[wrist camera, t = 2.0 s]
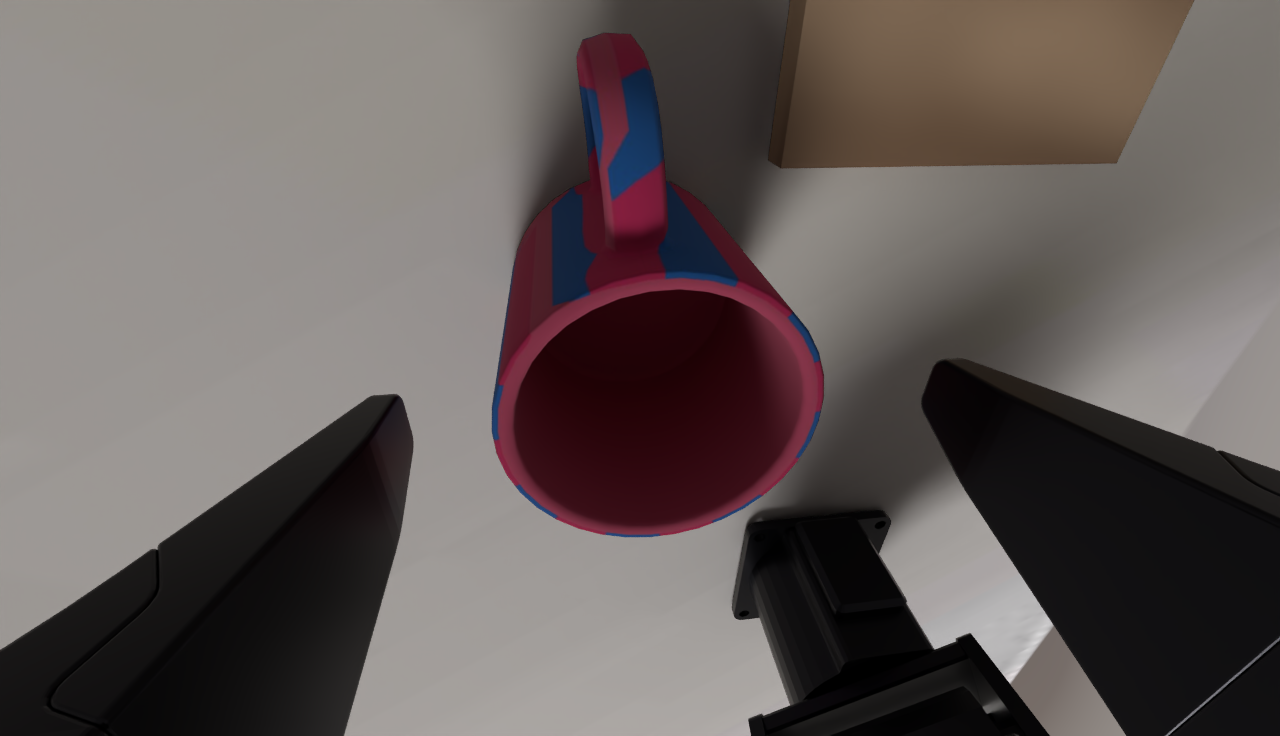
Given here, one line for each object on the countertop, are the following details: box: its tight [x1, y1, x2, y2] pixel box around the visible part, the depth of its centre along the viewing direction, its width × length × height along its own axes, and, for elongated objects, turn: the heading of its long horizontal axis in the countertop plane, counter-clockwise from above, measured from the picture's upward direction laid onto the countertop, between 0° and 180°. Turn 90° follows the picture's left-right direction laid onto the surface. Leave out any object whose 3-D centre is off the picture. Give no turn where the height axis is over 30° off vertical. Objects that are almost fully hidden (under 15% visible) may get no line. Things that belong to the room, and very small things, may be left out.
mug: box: [492, 33, 824, 537], centre depth 13 cm, size 7×10×7 cm
